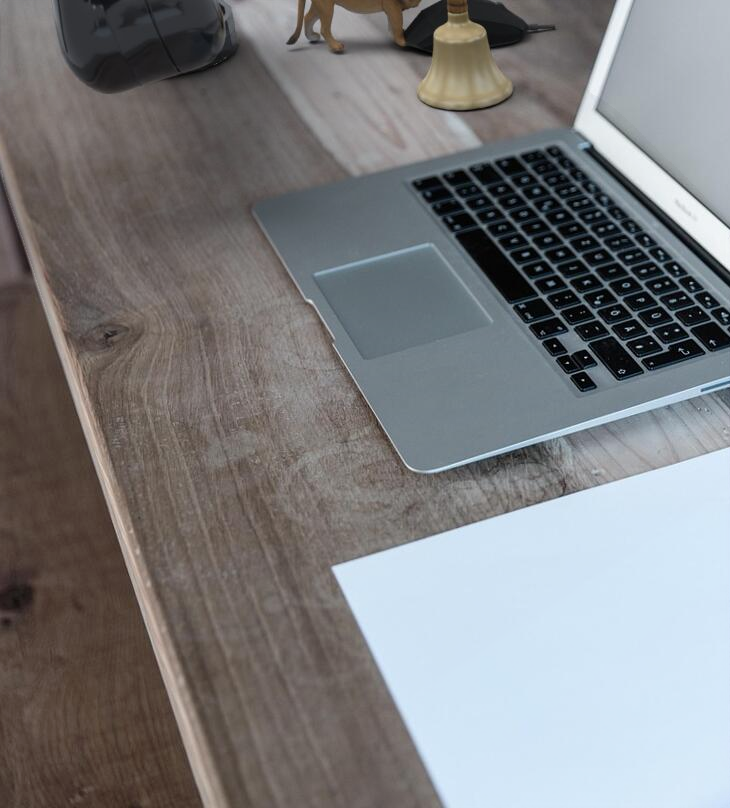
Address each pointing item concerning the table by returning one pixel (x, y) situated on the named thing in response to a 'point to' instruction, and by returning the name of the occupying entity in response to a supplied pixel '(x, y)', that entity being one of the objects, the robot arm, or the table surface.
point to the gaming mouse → (482, 11)
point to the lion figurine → (360, 3)
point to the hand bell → (462, 66)
